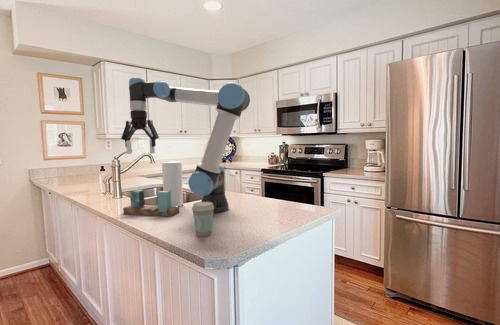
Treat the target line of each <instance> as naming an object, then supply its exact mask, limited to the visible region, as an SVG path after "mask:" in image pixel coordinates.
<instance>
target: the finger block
mask: <svg viewBox="0 0 500 325" xmlns="http://www.w3.org/2000/svg"><path fill="white" fill-rule="evenodd" d="M156 195H157V196H156V198H157V201H156V203H157V206H158V212H167V210H168V209H171V191H163V190H159V191H157V193H156Z"/></svg>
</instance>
